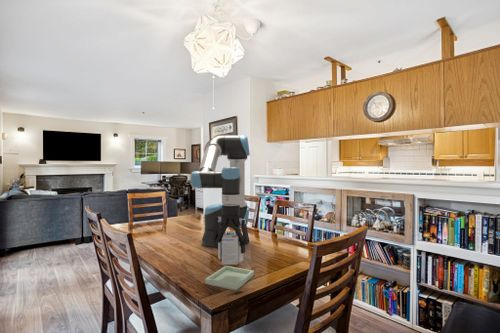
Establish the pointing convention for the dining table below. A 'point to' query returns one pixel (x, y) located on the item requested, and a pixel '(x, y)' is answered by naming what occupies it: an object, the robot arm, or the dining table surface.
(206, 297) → the dining table surface
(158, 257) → the dining table surface
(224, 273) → the tray
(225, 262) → the light bulb box
